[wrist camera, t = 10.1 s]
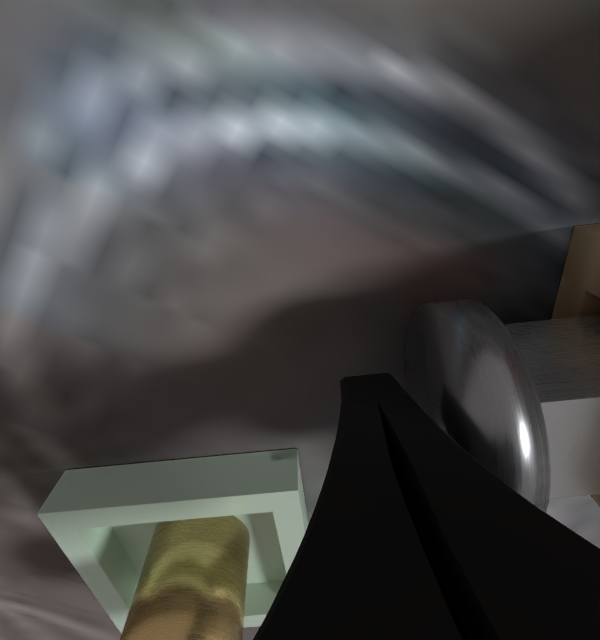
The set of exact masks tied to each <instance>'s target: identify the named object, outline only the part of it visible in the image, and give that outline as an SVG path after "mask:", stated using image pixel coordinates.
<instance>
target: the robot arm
mask: <svg viewBox="0 0 600 640" xmlns="http://www.w3.org/2000/svg"><path fill="white" fill-rule="evenodd" d="M340 385H341V399H342V402H341V412H340V418H339V424H338V430H337V435H336V440H335V444H334V448H333V452H332V456H331V459H330V463H329V467H328V471H327V474H326V477H325V480H324V483H323V486H322V490H321V492H320V495H319V498H318V501H317V504H316V506H315V509H314V512H313V514H312V517H311V519H310V522H309V524H308V527H307V529H306V532H305V534H304V537H303V539H302V542H301V544H300V546H299V548H298V551H297V553H296V555H295V558H294V560H293V562H292V564H291V566H290V568H289V570H288V572H287V574H286V576H285V578H284V580H283V583H282V585H281V587H280V589H279V591H278V593H277V595H276V597H275V599H274V601H273V603H272V605H271V607H270V609H269V611H268V613H267V615H266V617H265V619H264V621H263V623H262V624H261V626H260V628H259V630H258V632H257V633H256V635H255V637H254V639H253V640H600V549H599V548H598V547H596V546H595V545H593V544H591V543H590V542H588V541H587V540H585V539H584V538H582V537H581V536H579V535H578V534H576V533H575V532H573V531H572V530H570V529H569V528H567V527H566V526H564V525H563V524H561V523H560V522H558V521H557V520H555V519H554V518H552V517H551V516H549V515H548V514H546V513H545V512H543V511H542V510H540V509H539V508H538V507H536V506H535V505H534V504H532V503H531V502H529V501H528V500H527V499H525V498H524V497H523V496H521V495H520V494H518V493H517V492H516V491H514V490H513V489H512V488H511V487H509V486H508V485H507V484H505V483H504V482H503V481H502V480H500V479H499V478H498V477H496V476H495V475H494V474H493V473H491V472H490V471H489V470H488V469H486V468H485V467H484V466H483V465H482V464H480V463H479V462H478V461H477V460H476V459H475V458H473V457H472V456H471V455H470V454H469V453H468V452H467V451H465V450H464V449H463V448H462V447H461V446H460V445H459V444H458V443H456V442H455V441H454V440H453V439H452V438H451V437H450V436H449V435H448V434H447V433H446V432H445V431H444V430H443V429H442V428H441V427H439V426H438V425H437V424H436V423H435V422H434V421H433V420H432V419H431V418H430V417H429V416H428V415H427V414H426V413H425V412H424V411H423V410H422V409H421V408H420V406H419V405H418V404H417V403H416V402H415V401H414V400H413V399H412V398H411V397H410V396H409V395H408V394H407V392H406V391H405V390H404V389H403V388H402V387H401V386H400V385H399V383H398V382H397V381H396V380H395V379H394V378H393V376H392V375H390V374H389V373H381V374H371V375H361V376H351V377H344V378H343V379H342V380H341V381H340Z"/></svg>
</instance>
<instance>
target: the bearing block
mask: <svg viewBox="0 0 600 640" xmlns="http://www.w3.org/2000/svg"><path fill="white" fill-rule="evenodd" d="M591 315H600V223H599V224H590V225H580V226H574V230H573V234H572V238H571V242H570V246H569V250H568V254H567V258H566V262H565V266H564V270H563V274H562V278H561V282H560V286H559V290H558V294H557V298H556V302H555V306H554V310H553V314H552V318H551V320H552V319H562V318H572V317H582V316H591ZM590 496H591V497H592V498H593V499H594V500H595V502H596V503H597V504H598V505H599V507H600V494H597V495H590Z"/></svg>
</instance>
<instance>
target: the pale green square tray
mask: <svg viewBox="0 0 600 640" xmlns="http://www.w3.org/2000/svg"><path fill="white" fill-rule="evenodd" d="M37 515H38V517H39V518H40V519H41V521H42V522H43V524H44V525H45V526H46V528H47V529H48V531H49V532H50V533H51V535H52V536H53V538H54V539H55V541H56V542H57V543H58V545H59V546H60V548H61V549H62V550H63V552H64V553H65V555H66V556H67V557H68V559H69V560H70V562H71V563H72V565H73V566H74V567H75V569H76V570H77V572H78V573H79V574H80V576H81V577H82V579H83V580H84V581H85V583H86V584H87V586H88V587H89V589H90V590H91V591H92V593H93V594H94V596H95V597H96V598H97V600H98V601H99V603H100V604H101V605H102V607H103V608H104V610H105V611H106V612H107V614H108V615H109V617H110V618H111V620H112V621H113V622H114V624H115V625H116V627H117V628H118V629H119V631H120V632H121V634H122V631H123V628H124V625H125V622H126V619H127V616H128V612H129V609H130V606H131V603H132V600H133V597H134V594H135V590H136V587H137V584H138V581H139V578H140V575H141V571H142V568H143V565H144V562H145V559H146V556H147V553H148V549H149V546H150V543H151V540H152V537H153V534H154V530H155V528H156V526H157V524H158V523H159V522H163V521H175V520H186V519H197V518H208V517H220V516H231V515H233V516H235V517H237V518H238V519H240V520H241V521H242V522H243V523H244V524H245V525H246V527H247V528H248V530H249V533H250V547H249V560H248V573H247V586H246V599H245V612H244V625H243V627H255V626H261V624H262V623H263V621H264V619H265V617H266V615H267V613H268V611H269V609H270V607H271V605H272V603H273V601H274V599H275V597H276V595H277V593H278V591H279V589H280V587H281V585H282V583H283V580H284V578H285V576H286V574H287V572H288V570H289V568H290V566H291V564H292V562H293V560H294V558H295V555H296V553H297V551H298V548H299V546H300V544H301V542H302V539H303V537H304V534H305V532H306V529H307V527H308V524H309V523H308V516H307V510H306V503H305V497H304V490H303V483H302V477H301V470H300V464H299V457H298V450H297V449H286V450H275V451H265V452H254V453H243V454H233V455H222V456H211V457H201V458H190V459H179V460H169V461H158V462H147V463H137V464H126V465H115V466H105V467H94V468H83V469H73V470H65V472H64V473H63V475H62V476H61V478H60V479H59V481H58V482H57V484H56V485H55V487H54V488H53V490H52V491H51V493H50V494H49V496H48V498H47V499H46V501H45V502H44V504H43V505H42V507H41V508H40V510H39V511H38V513H37Z"/></svg>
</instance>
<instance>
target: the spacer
mask: <svg viewBox="0 0 600 640" xmlns="http://www.w3.org/2000/svg"><path fill="white" fill-rule="evenodd" d="M249 547H250V533H249V530H248V528H247V527H246V525H245V524H244V523H243V522H242V521H241V520H240V519H238V518H237V517H235V516H233V515H231V516H220V517H208V518H197V519H186V520H175V521H163V522H159V523H158V524H157V526H156V528H155V530H154V534H153V537H152V540H151V543H150V546H149V549H148V553H147V556H146V559H145V562H144V565H143V568H142V571H141V575H140V578H139V581H138V584H137V587H136V590H135V594H134V597H133V600H132V603H131V606H130V609H129V612H128V616H127V619H126V622H125V625H124V628H123V631H122V635H121V638H120V640H242V638H243V625H244V612H245V599H246V586H247V573H248V560H249Z"/></svg>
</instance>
